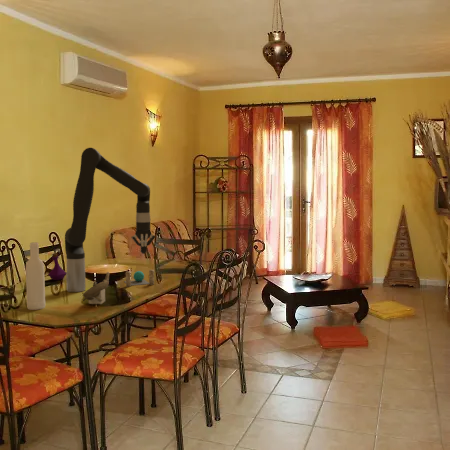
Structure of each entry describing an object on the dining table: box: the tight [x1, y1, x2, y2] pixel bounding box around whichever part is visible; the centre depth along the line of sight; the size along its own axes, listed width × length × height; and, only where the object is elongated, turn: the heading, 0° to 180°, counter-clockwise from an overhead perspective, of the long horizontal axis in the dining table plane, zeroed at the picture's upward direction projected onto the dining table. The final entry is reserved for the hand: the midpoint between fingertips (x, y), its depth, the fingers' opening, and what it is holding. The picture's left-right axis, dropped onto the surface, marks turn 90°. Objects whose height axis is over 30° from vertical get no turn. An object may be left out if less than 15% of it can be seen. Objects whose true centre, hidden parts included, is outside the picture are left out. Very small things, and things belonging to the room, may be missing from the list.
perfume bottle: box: [47, 248, 67, 281], centre depth 303 cm, size 8×8×18 cm
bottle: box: [25, 242, 46, 311], centre depth 238 cm, size 8×8×30 cm
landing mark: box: [123, 279, 149, 287], centre depth 295 cm, size 12×12×1 cm
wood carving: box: [82, 271, 110, 305], centre depth 251 cm, size 9×35×11 cm, turn 175°
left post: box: [125, 271, 132, 288], centre depth 285 cm, size 3×3×8 cm
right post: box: [148, 269, 155, 286], centre depth 290 cm, size 3×3×8 cm
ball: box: [133, 270, 145, 282], centre depth 298 cm, size 6×6×6 cm
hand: (143, 253), depth 279 cm, fingers closed
